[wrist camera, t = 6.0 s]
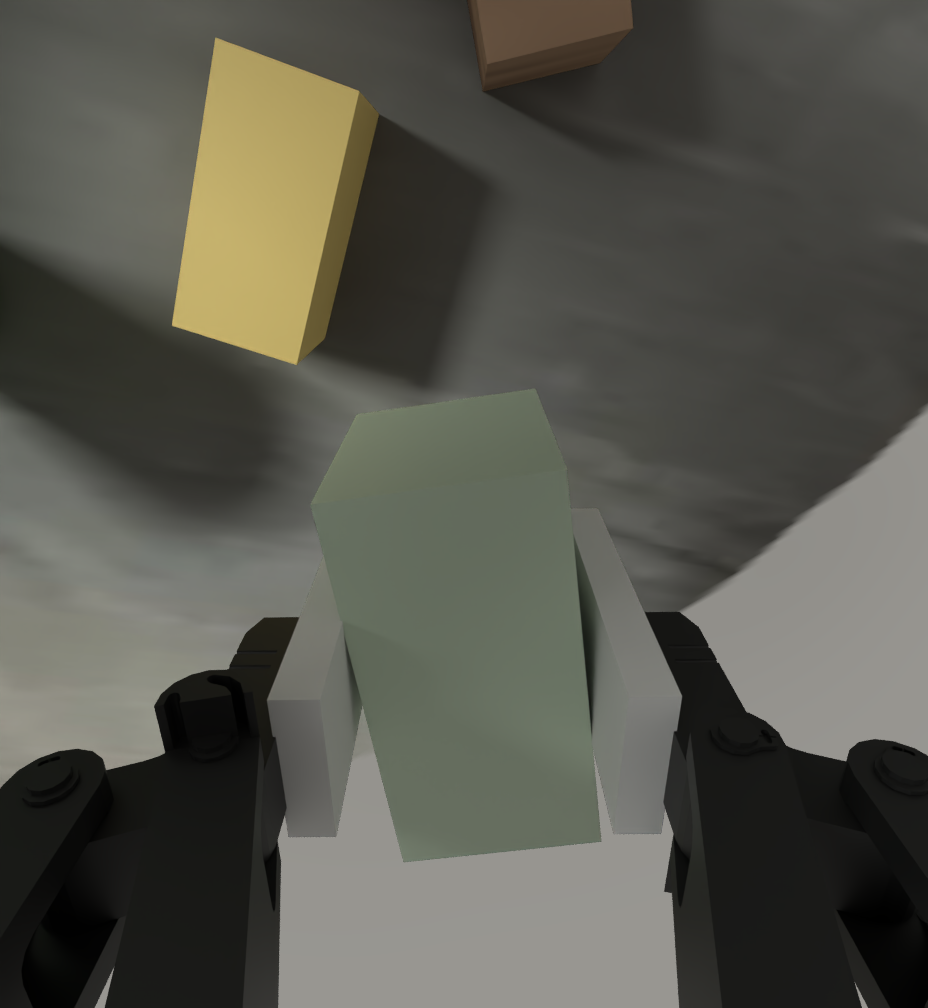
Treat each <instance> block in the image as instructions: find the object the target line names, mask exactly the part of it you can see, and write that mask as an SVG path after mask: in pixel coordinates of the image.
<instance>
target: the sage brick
mask: <svg viewBox="0 0 928 1008" xmlns="http://www.w3.org/2000/svg"><path fill="white" fill-rule="evenodd" d="M310 506H311V510H312V513H313V517H314V521H315V525H316V529H317V533H318V536H319V540H320V544H321V548H322V552H323V555H324V559H325V563H326V567H327V571H328V575H329V578H330V582H331V586H332V590H333V594H334V598H335V601H336V605H337V609H338V613H339V617H340V621H343V630H344V636H345V640H346V644H347V647H348V651H349V655H350V659H351V663H352V667H353V670H354V674H355V678H356V682H357V686H358V690H359V693H360V697H361V701H362V705H363V709H364V713H365V716H366V720H367V724H368V728H369V732H370V736H371V739H372V743H373V747H374V751H375V755H376V758H377V762H378V766H379V769H380V774H381V778H382V782H383V785H384V789H385V793H386V797H387V801H388V805H389V808H390V812H391V816H392V820H393V824H394V827H395V831H396V835H397V839H398V843H399V846H400V850H401V854H402V858H403V862H411V861H420V860H430V859H440V858H449V857H458V856H469V855H478V854H487V853H497V852H507V851H516V850H526V849H535V848H545V847H555V846H564V845H574V844H583V843H593V842H601V833H600V822H599V811H598V800H597V789H596V779H595V767H594V756H593V747H592V734H591V723H590V713H589V702H588V691H587V680H586V669H585V658H584V647H583V636H582V625H581V614H580V604H579V593H578V582H577V571H576V560H575V549H574V538H573V527H572V516H571V505H570V494H569V484H568V473H567V468H566V465H565V463H564V460H563V458H562V455H561V452H560V450H559V447H558V445H557V442H556V440H555V437H554V435H553V432H552V430H551V427H550V425H549V422H548V420H547V417H546V414H545V412H544V409H543V407H542V404H541V402H540V399H539V397H538V394H537V392H536V389H529V390H522V391H515V392H508V393H501V394H494V395H487V396H480V397H473V398H466V399H459V400H452V401H445V402H439V403H432V404H425V405H418V406H411V407H404V408H397V409H390V410H383V411H376V412H369V413H362V414H357V415H356V417H355V419H354V421H353V423H352V425H351V427H350V428H349V430H348V432H347V434H346V436H345V438H344V440H343V442H342V444H341V446H340V448H339V450H338V452H337V454H336V456H335V458H334V459H333V461H332V463H331V465H330V467H329V469H328V471H327V473H326V475H325V477H324V479H323V481H322V483H321V485H320V487H319V489H318V490H317V492H316V494H315V496H314V498H313V500H312V502H311V504H310Z"/></svg>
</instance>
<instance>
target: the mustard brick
mask: <svg viewBox="0 0 928 1008" xmlns="http://www.w3.org/2000/svg"><path fill="white" fill-rule="evenodd" d="M378 117H379V113H378V112H377V111H376V110H375V109H374V107H373V106H372V105H371V104H370V103H369V102H368V101H367V99H366V98H365V97H364V96H363V95H362V94H361V93H360V91H358V90H355V89H352V88H350V87H347V86H344V85H342V84H339V83H336V82H333V81H331V80H328V79H325V78H323V77H320V76H317V75H315V74H312V73H309V72H307V71H304V70H301V69H299V68H296V67H293V66H291V65H288V64H285V63H282V62H280V61H277V60H274V59H272V58H269V57H266V56H264V55H261V54H258V53H256V52H253V51H250V50H248V49H245V48H242V47H240V46H237V45H234V44H231V43H229V42H226V41H223V40H221V39H218V38H215V44H214V51H213V57H212V64H211V71H210V77H209V84H208V90H207V97H206V104H205V110H204V117H203V123H202V130H201V137H200V143H199V150H198V157H197V163H196V170H195V176H194V183H193V190H192V196H191V203H190V209H189V216H188V223H187V229H186V236H185V242H184V249H183V256H182V262H181V269H180V275H179V282H178V289H177V295H176V302H175V308H174V315H173V322H172V326H175V327H178V328H181V329H184V330H188V331H191V332H194V333H197V334H200V335H203V336H207V337H210V338H213V339H216V340H219V341H222V342H226V343H229V344H232V345H235V346H238V347H241V348H245V349H248V350H251V351H254V352H257V353H260V354H263V355H267V356H270V357H273V358H276V359H279V360H282V361H286V362H289V363H292V364H295V365H297V364H298V363H299V362H300V361H301V360H302V359H304V358H305V357H306V356H307V355H308V354H309V353H310V352H311V351H312V350H313V349H314V348H315V347H316V346H317V345H319V344H320V343H321V342H322V341H323V340H324V339H325V336H326V332H327V328H328V324H329V320H330V315H331V311H332V307H333V303H334V299H335V295H336V291H337V286H338V282H339V278H340V274H341V270H342V266H343V262H344V257H345V253H346V249H347V245H348V241H349V237H350V233H351V228H352V224H353V220H354V216H355V212H356V208H357V204H358V199H359V195H360V191H361V187H362V183H363V179H364V175H365V170H366V166H367V162H368V158H369V154H370V150H371V146H372V141H373V137H374V133H375V129H376V125H377V121H378Z"/></svg>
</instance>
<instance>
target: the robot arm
mask: <svg viewBox="0 0 928 1008" xmlns="http://www.w3.org/2000/svg"><path fill="white" fill-rule="evenodd" d="M571 516H572V527H573V538H574V549H575V560H576V571H577V582H578V593H579V604H580V614H581V625H582V636H583V647H584V658H585V669H586V680H587V691H588V702H589V713H590V723H591V734H592V747H593V751H594V755H595V759H596V763H597V768H598V772H599V776H600V780H601V784H602V788H603V792H604V796H605V801H606V805H607V809H608V813H609V817H610V822H611V826H612V830H613V833H614V834H661V832H662V825H663V819H664V812H665V809H666V812H667V815H668V818H669V821H670V824H671V827H672V830H673V833H674V835H673V841H672V847H671V853H670V859H669V865H668V872H667V878H666V884H665V890H664V891H665V892H669V893H672V900H673V914H674V932H675V948H676V964H677V978H678V995H679V1008H862V1006H861V1003H860V1000H859V996H858V993H857V989H856V986H855V983H856V985H857V987H858V989H859V991H860V993H861V995H862V997H863V999H864V1000H865V1002H866V1004H867V1006H868V1008H928V756H927V755H926V754H923V753H922V752H920V751H918V750H917V749H915V748H912V747H909V746H906V745H903V744H900V743H897V742H893V741H885V740H877V739H873V740H868V741H862V742H859V743H857V744H856V745H855V746H854V747H852V748H851V749H850V750H849V754H848V757H847V761H841V760H837V759H832V758H828V757H823V756H819V755H814V754H810V753H806V752H803V751H799V750H796V749H792V748H790V747H788V746H786V745H785V743H784V742H783V740H782V738H781V736H780V734H779V733H778V732H777V731H776V730H775V729H774V728H773V727H771V726H770V725H769V724H768V723H767V722H766V721H764V720H762V719H760V718H758V717H756V716H754V715H752V714H750V713H747V712H746V711H745V709H744V707H743V705H742V703H741V702H740V700H739V698H738V697H737V695H736V693H735V691H734V689H733V687H732V686H731V684H730V682H729V680H728V679H727V677H726V675H725V673H724V672H723V670H722V668H721V666H720V664H719V663H717V661H716V660H717V659H716V657H715V655H714V654H713V652H712V650H711V649H710V648H709V647H708V643H707V641H706V640H705V638H704V636H703V634H702V632H701V630H700V629H699V627H698V626H697V625H695V624H694V623H693V622H691V621H690V620H689V619H688V618H686V617H685V616H684V615H683V614H681V613H680V612H644V610H643V608H642V606H641V604H640V601H639V599H638V597H637V595H636V593H635V590H634V588H633V586H632V584H631V581H630V579H629V577H628V575H627V572H626V570H625V568H624V566H623V564H622V561H621V559H620V557H619V555H618V552H617V550H616V548H615V546H614V544H613V541H612V539H611V537H610V535H609V532H608V530H607V528H606V526H605V523H604V521H603V519H602V517H601V515H600V512H599V510H598V508H571ZM154 708H155V712H156V716H157V720H158V724H159V728H160V732H161V737H162V741H163V745H164V749H165V754H163V755H161V756H158V757H155V758H152V759H149V760H146V761H143V762H138V763H134V764H130V765H126V766H122V767H118V768H114V769H110V770H106V768H105V765H104V762H103V759H102V758H101V757H100V756H98V755H97V754H96V753H94V752H93V751H87V750H81V749H73V750H65V751H58V752H55V753H52V754H50V755H47V756H44V757H41V758H39V759H37V760H35V761H33V762H32V763H30V764H28V765H27V766H25V767H23V768H22V769H20V770H18V771H17V772H16V773H15V774H14V775H13V776H12V777H11V778H10V779H9V780H8V781H7V782H6V783H5V784H4V785H3V786H2V787H1V788H0V1008H95V1006H96V1004H97V1001H98V999H99V997H100V995H101V993H102V991H103V989H104V986H105V985H106V982H107V980H108V978H109V976H110V974H111V972H112V970H113V968H114V971H113V975H112V979H111V984H110V988H109V992H108V996H107V1000H106V1005H105V1008H278V986H279V985H278V983H279V935H280V883H281V879H280V878H281V859H280V853H279V847H278V841H277V840H278V836H279V833H280V829H281V826H282V823H283V819H284V816H285V818H286V823H287V830H288V837H336V835H337V831H338V825H339V821H340V815H341V810H342V805H343V800H344V795H345V790H346V785H347V780H348V775H349V770H350V765H351V760H352V755H353V750H354V745H355V740H356V735H357V730H358V724H359V719H360V714H361V709H362V701H361V697H360V693H359V690H358V686H357V682H356V678H355V674H354V670H353V667H352V663H351V659H350V655H349V651H348V647H347V644H346V640H345V636H344V630H343V621H340V617H339V613H338V609H337V605H336V601H335V598H334V594H333V590H332V586H331V582H330V578H329V575H328V571H327V567H326V563H325V559H324V556H323V559H322V561H321V564H320V566H319V569H318V572H317V574H316V577H315V579H314V582H313V584H312V587H311V589H310V592H309V594H308V597H307V600H306V602H305V605H304V607H303V610H302V612H301V615H300V617H280V618H263V619H262V620H261V621H260V622H258V623H257V624H256V625H255V626H254V627H253V628H251V629H250V630H249V631H248V632H247V633H246V634H245V636H244V638H243V640H242V642H241V644H240V646H239V648H238V650H237V654H235V656H234V658H233V660H232V662H231V664H230V668H229V669H227V670H208V671H204V672H201V673H197V674H193V675H190V676H188V677H186V678H184V679H182V680H180V681H177V682H175V683H174V684H173V685H171V686H170V687H169V688H168V689H167V690H165V691H164V692H163V693H162V694H161V695H160V697H159V699H158V700H157V702H156V704H155V706H154ZM854 981H855V982H854Z"/></svg>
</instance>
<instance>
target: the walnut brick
mask: <svg viewBox="0 0 928 1008" xmlns="http://www.w3.org/2000/svg"><path fill="white" fill-rule="evenodd" d="M467 2H468V8H469V14H470V20H471V26H472V31H473V37H474V43H475V49H476V55H477V60H478V66H479V72H480V78H481V84H482V89H483V92H484V91H488V90H492V89H496V88H500V87H504V86H508V85H512V84H517V83H521V82H525V81H529V80H533V79H537V78H541V77H545V76H549V75H553V74H557V73H561V72H566V71H570V70H574V69H578V68H582V67H586V66H590V65H594V64H598V63H601V62H602V61H603V59H604V58H605V57H606V56H607V55H608V54H609V53H610V52H611V51H612V50H613V49H614V48H615V47H616V46H617V45H618V44H619V43H620V41H621V40H622V39H623V38H624V37H625V36H626V35H627V34H628V33H629V32H630V31H631V30H632V29H633V19H632V8H631V0H467Z"/></svg>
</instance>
